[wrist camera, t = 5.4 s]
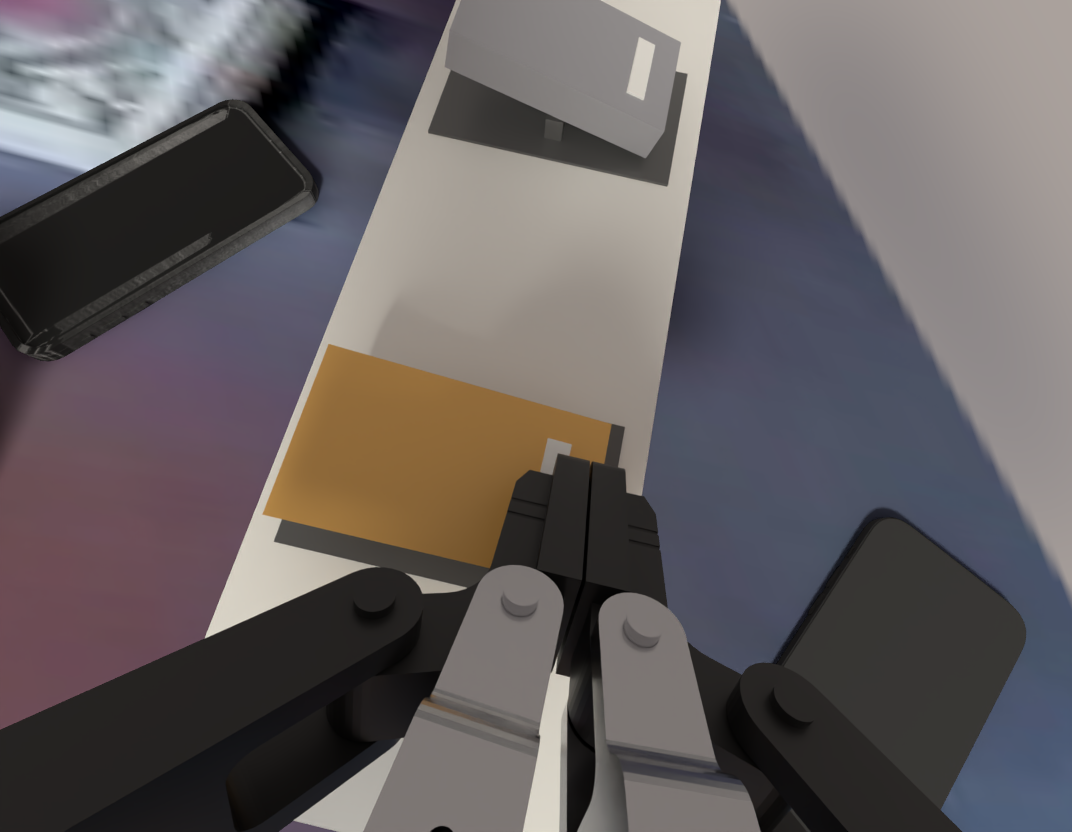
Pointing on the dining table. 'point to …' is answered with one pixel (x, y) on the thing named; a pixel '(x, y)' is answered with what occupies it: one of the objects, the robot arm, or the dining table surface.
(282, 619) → the robot arm
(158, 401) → the dining table surface
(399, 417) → the amber rocker
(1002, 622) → the phone
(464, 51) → the grey rocker
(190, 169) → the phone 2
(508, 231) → the switch console
